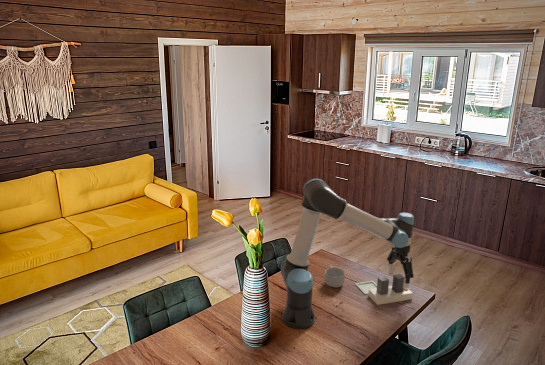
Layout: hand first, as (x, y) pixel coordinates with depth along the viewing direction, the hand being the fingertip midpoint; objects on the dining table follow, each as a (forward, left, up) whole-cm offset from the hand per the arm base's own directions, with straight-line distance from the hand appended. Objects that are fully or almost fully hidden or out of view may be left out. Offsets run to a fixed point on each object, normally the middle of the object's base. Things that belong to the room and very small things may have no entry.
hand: (397, 281), depth 219 cm
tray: (-10, +11, -9) cm, 17 cm away
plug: (0, 0, -8) cm, 8 cm away
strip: (-4, 0, -9) cm, 10 cm away
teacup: (-26, +21, -9) cm, 34 cm away
